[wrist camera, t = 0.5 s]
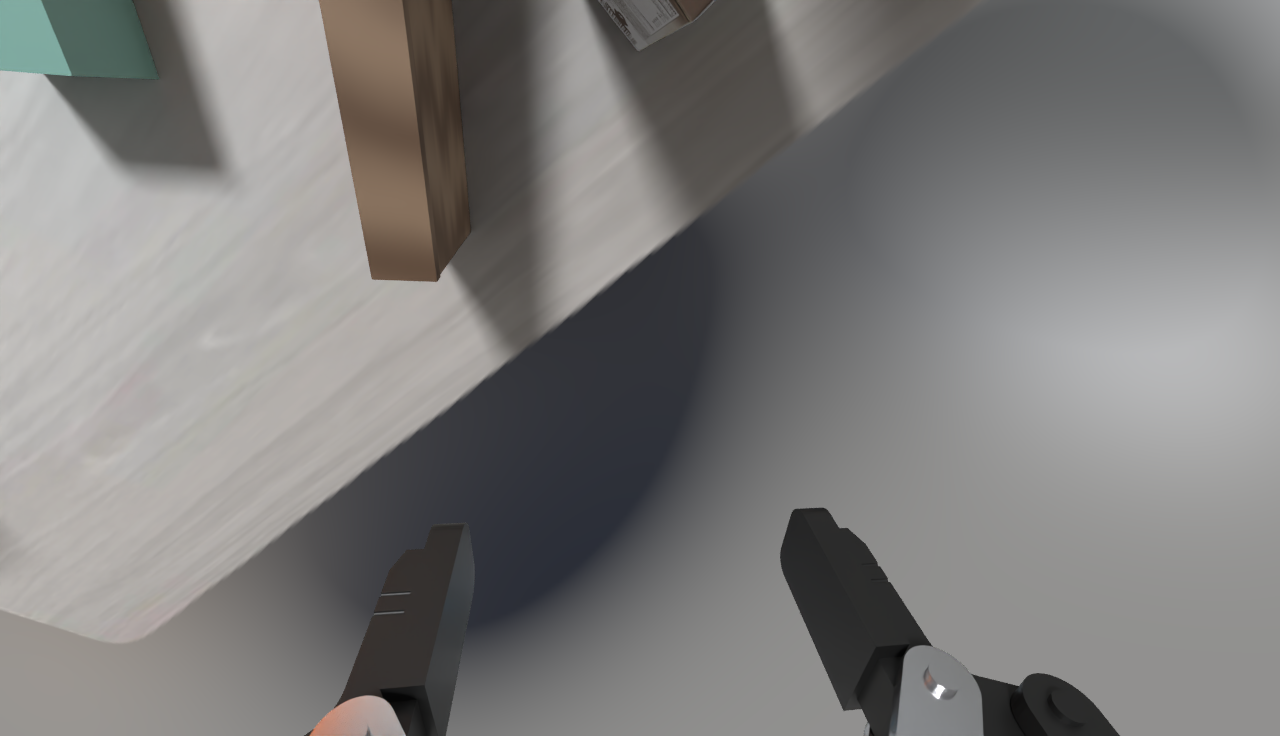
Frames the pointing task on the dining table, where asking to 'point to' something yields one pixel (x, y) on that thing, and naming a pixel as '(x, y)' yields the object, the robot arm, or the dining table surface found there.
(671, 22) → the coffee box
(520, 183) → the dining table surface
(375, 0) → the walnut board
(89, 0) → the green block
